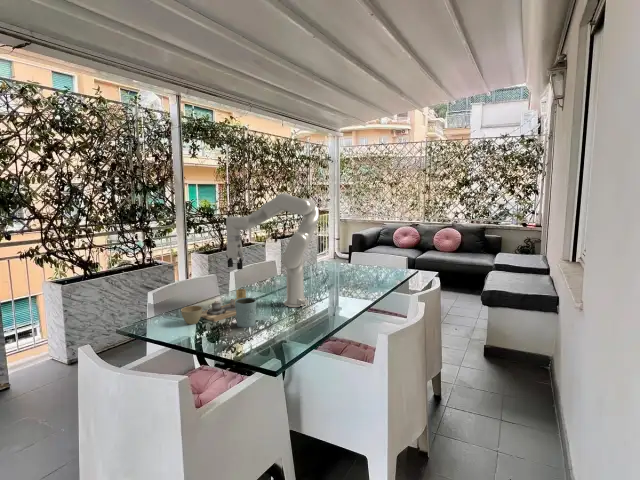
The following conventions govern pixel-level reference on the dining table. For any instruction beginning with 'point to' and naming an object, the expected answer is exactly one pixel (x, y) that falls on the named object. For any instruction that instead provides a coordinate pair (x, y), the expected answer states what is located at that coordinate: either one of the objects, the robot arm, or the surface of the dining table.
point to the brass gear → (240, 294)
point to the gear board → (220, 311)
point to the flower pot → (191, 314)
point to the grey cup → (245, 312)
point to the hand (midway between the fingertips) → (235, 268)
